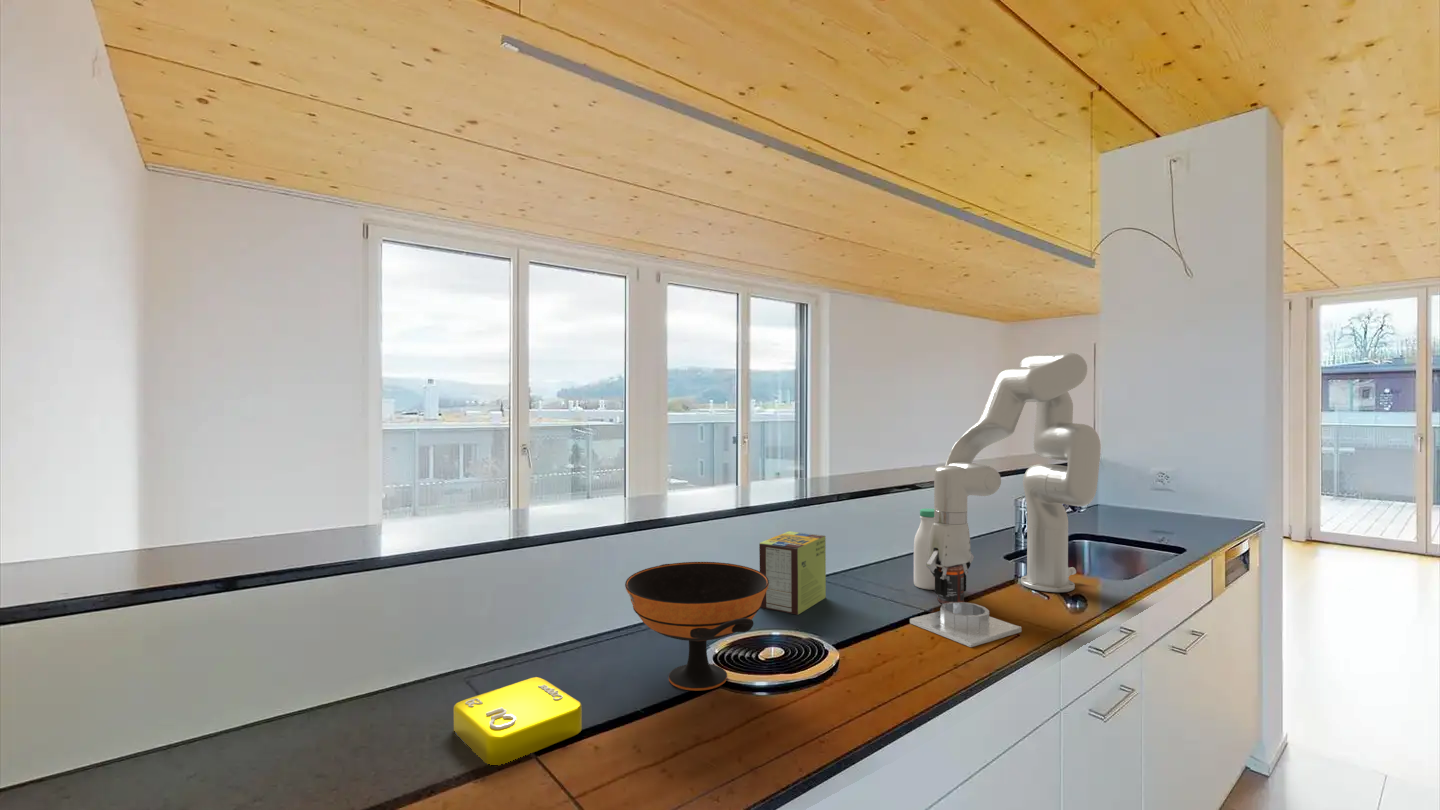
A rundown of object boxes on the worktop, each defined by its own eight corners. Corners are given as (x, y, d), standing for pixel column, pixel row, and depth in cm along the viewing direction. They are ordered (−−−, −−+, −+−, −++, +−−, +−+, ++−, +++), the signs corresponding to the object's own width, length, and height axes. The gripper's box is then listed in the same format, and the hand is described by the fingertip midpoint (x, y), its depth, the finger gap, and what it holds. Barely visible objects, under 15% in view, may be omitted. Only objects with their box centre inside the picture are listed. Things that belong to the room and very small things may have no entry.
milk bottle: (948, 590, 169) (948, 512, 169) (918, 590, 169) (918, 512, 169) (939, 581, 177) (939, 506, 176) (910, 581, 177) (910, 507, 177)
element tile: (587, 733, 101) (586, 701, 101) (491, 772, 90) (491, 737, 90) (539, 699, 112) (538, 671, 112) (449, 731, 101) (448, 700, 101)
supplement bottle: (960, 598, 162) (960, 552, 162) (966, 606, 156) (967, 559, 156) (935, 598, 163) (935, 552, 163) (940, 606, 157) (940, 558, 157)
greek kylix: (812, 708, 107) (812, 599, 107) (661, 742, 97) (660, 622, 97) (722, 633, 140) (722, 550, 140) (603, 653, 130) (602, 563, 130)
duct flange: (959, 610, 154) (959, 593, 154) (1021, 631, 140) (1021, 613, 140) (909, 623, 146) (909, 605, 146) (970, 647, 132) (970, 627, 132)
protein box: (826, 597, 164) (826, 535, 164) (798, 615, 151) (798, 547, 151) (788, 590, 170) (788, 530, 169) (758, 607, 157) (758, 542, 157)
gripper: (962, 511, 167) (961, 583, 167) (913, 518, 158) (913, 594, 158) (987, 516, 160) (987, 590, 161) (938, 524, 152) (938, 602, 152)
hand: (950, 591), depth 160 cm, fingers closed on supplement bottle, 6 cm apart
